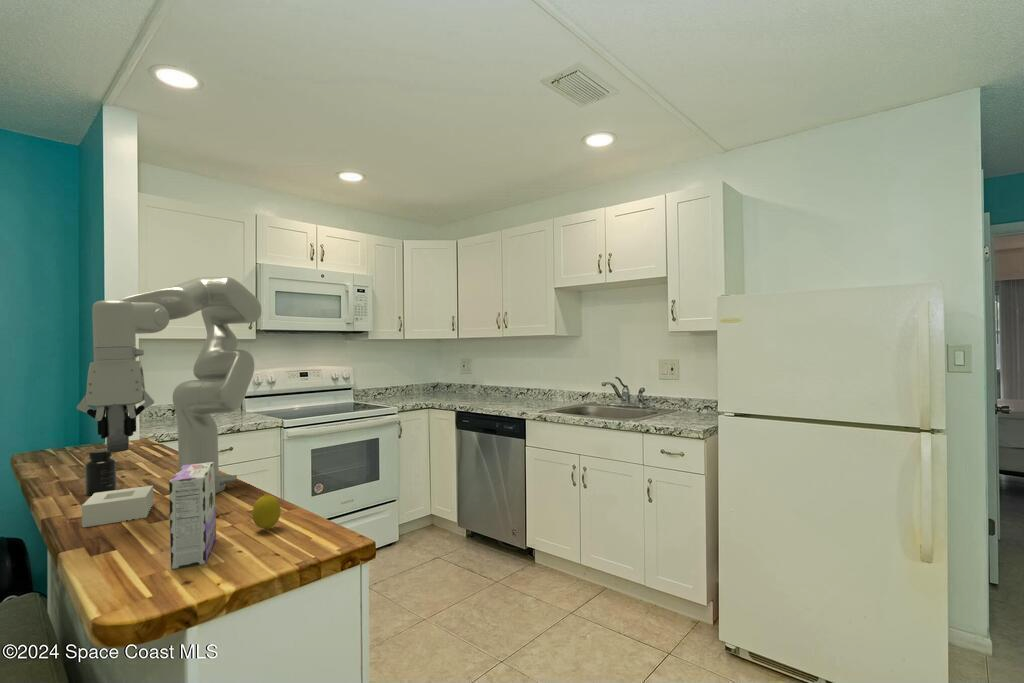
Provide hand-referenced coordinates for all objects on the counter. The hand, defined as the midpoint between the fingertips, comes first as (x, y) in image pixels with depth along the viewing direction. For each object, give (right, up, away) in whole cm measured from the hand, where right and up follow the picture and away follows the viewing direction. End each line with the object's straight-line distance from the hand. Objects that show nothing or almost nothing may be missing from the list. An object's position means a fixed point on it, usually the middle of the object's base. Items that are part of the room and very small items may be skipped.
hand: (117, 435), depth 114 cm
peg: (0, -3, 0) cm, 3 cm away
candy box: (+27, -21, -15) cm, 37 cm away
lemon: (+35, -20, -3) cm, 41 cm away
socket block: (-7, -21, +10) cm, 25 cm away
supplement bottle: (-29, -22, +31) cm, 48 cm away
